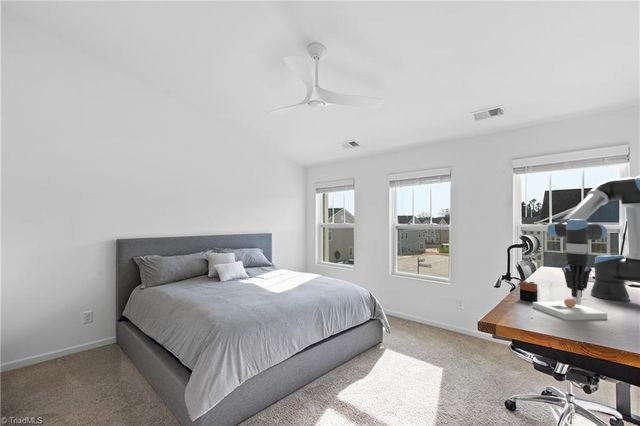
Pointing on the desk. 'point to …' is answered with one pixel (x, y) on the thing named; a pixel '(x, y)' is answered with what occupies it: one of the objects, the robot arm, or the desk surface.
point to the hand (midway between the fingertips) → (576, 303)
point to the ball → (569, 302)
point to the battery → (528, 291)
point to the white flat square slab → (569, 311)
